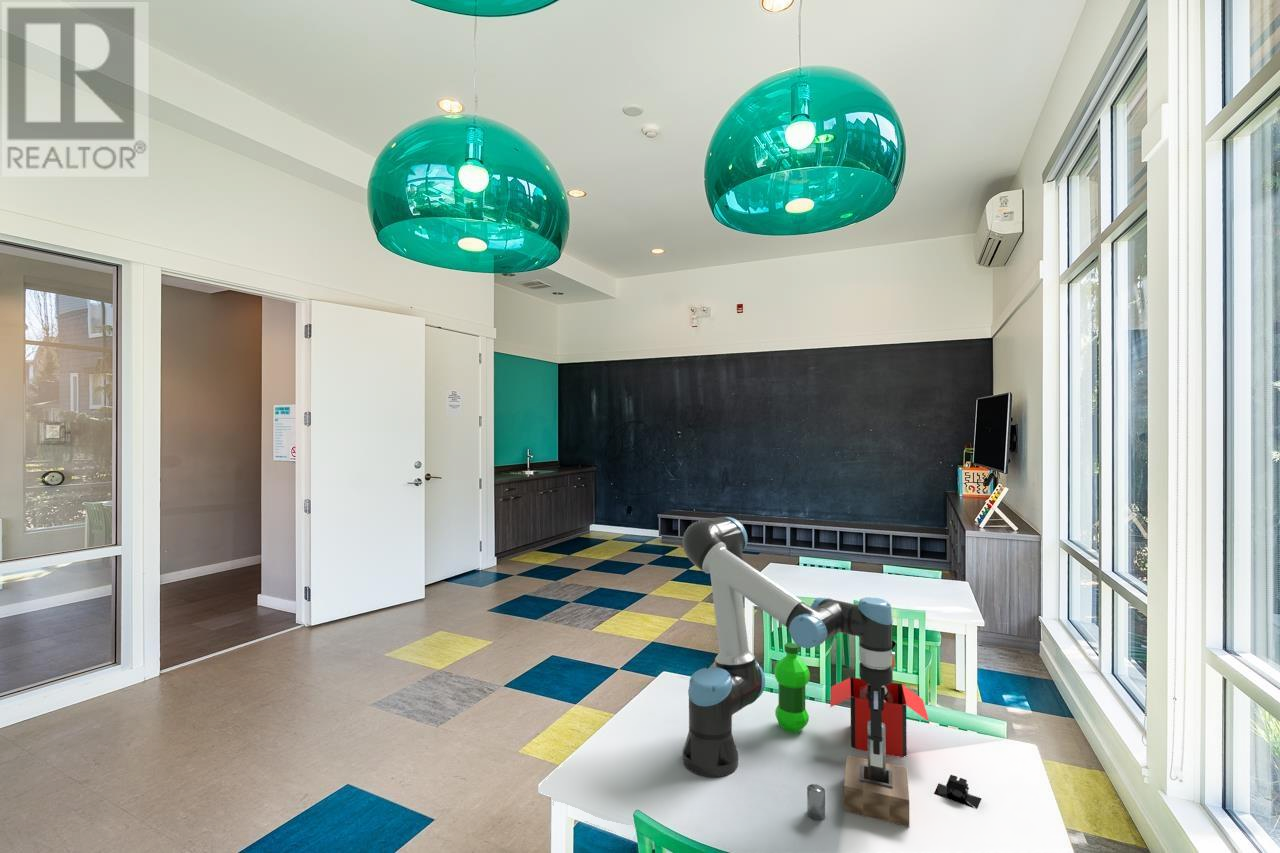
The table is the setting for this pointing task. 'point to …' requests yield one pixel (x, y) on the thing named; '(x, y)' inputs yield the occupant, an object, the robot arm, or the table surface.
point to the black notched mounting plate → (957, 792)
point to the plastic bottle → (791, 690)
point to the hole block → (876, 792)
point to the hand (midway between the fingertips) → (876, 760)
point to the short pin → (816, 802)
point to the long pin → (879, 772)
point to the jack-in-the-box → (891, 714)
